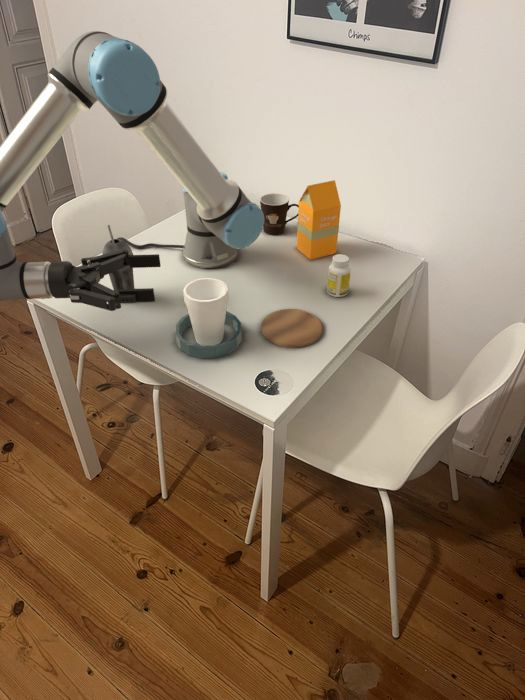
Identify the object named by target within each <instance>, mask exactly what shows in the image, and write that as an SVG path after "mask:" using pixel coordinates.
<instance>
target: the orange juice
mask: <svg viewBox="0 0 525 700" xmlns="http://www.w3.org/2000/svg"><path fill="white" fill-rule="evenodd" d="M298 205H299V208H298V213H297V214H298V216H297V235H296V237H297V239H296V249H297V250H298V251H299V252H300V253H301V254H303V255H304V256H305V257H306V258H307V259H309V260H310V261H312V260H315V259H318V258H322V257H327V256H330V255H333V254H337V249H338V238H339V231H340V218H341V208H342V203H341V200H340V196H339V191H338V187H337V183H336V180H335V179H334V180H329V181H324V182H318V183H314V184H309V185H307V186H306V188H305V190H304V192H303V193H302V195H301V196H300V199H299V200H298Z"/></svg>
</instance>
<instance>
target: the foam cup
mask: <svg viewBox="0 0 525 700" xmlns="http://www.w3.org/2000/svg"><path fill="white" fill-rule="evenodd" d="M182 291H183V300H184V305H185V306H186V308H187V313H188V314H189V316H190V320H191V324H192V325H191V327H192V328H191V329H192V331H193V334H194V338H195V342H196V343H197V345H201V346H209V345H217V344H220V343H223V339H224V337H225V335H224V334H225V327H226V326H225V325H226V323H225V317H226V311H227V305H228V300H229V288H228V286H227V283H226V282H224V281H223V280H221V279H218V278H213V277H200V278H197V279H193V280H191V281H189V282H188V283H185V286H184V288H183V289H182Z"/></svg>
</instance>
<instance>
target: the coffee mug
mask: <svg viewBox="0 0 525 700" xmlns="http://www.w3.org/2000/svg"><path fill="white" fill-rule="evenodd" d="M289 203H290V197H288V195H286V194H282V193H275V192H273V193H266V194H263V195H261V196H260V198H259V204H260V209H261V210H262V212H263V214H264V225H263V229H262V231H263V232H264V233H265V235H270V236H279V235H283V233H285V228H286V225H287V223H289V222H292V221H294V220H295V219H296V218H298V213H297V214H296V215H294V216H292V217H290V218H289V219H287V217H288V212H289V210H290V209H291V208H292V207H296V208H298V209H299V204H297V203H291V204H289Z"/></svg>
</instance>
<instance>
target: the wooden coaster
mask: <svg viewBox="0 0 525 700" xmlns="http://www.w3.org/2000/svg"><path fill="white" fill-rule="evenodd" d="M322 332H323V325H322V322H321V321H320V319H319V318H318V317H317V316H316V315H314V314H313V313H311V312H308V311H305V310H302V309H298V308H297V309H296V308H284V309H279V310H275V311H273V312H271V313H270V314H267V316H266V317H264V319H263V320H262V322H261V333H262V335H263V337H264V338H265V339H266V340H267V341H268V342H270V343H272V344H274V345H276V346H278V347H282V348H289V349H290V348H293V349H295V348H303V347H307V346H310V345H312V344H313V343H315V342H317V341H318V340H319V339H320V337H321V335H322Z"/></svg>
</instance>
